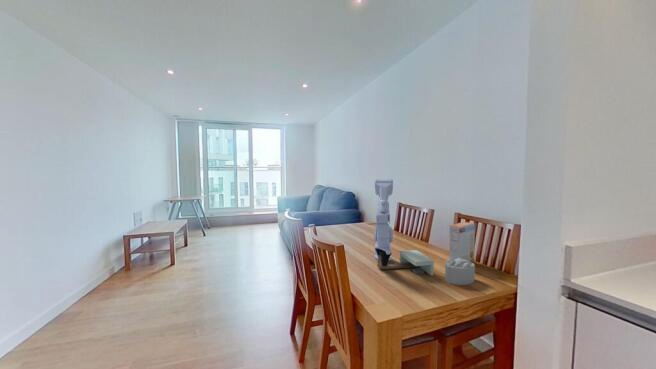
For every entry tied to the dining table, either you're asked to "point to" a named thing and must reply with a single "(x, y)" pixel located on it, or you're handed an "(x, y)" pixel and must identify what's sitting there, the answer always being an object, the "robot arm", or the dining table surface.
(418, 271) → the grey square block
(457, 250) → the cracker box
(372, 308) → the dining table surface
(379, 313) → the dining table surface
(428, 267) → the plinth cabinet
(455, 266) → the lumpy-topped squat cylinder
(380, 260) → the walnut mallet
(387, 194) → the robot arm
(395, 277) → the dining table surface
